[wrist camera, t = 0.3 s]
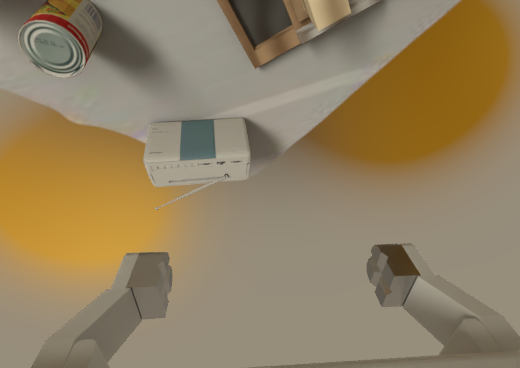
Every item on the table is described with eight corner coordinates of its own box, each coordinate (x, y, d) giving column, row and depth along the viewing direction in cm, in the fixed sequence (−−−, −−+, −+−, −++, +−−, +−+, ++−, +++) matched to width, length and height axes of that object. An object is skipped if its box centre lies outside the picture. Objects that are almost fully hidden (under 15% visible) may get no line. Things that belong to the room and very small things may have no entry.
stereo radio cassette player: (244, 112, 67) (256, 177, 54) (244, 141, 73) (255, 205, 60) (148, 118, 65) (136, 187, 52) (157, 146, 71) (148, 215, 58)
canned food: (35, 3, 46) (2, 35, 39) (77, -19, 45) (51, 10, 37) (75, 49, 52) (53, 85, 44) (113, 31, 51) (98, 65, 43)
